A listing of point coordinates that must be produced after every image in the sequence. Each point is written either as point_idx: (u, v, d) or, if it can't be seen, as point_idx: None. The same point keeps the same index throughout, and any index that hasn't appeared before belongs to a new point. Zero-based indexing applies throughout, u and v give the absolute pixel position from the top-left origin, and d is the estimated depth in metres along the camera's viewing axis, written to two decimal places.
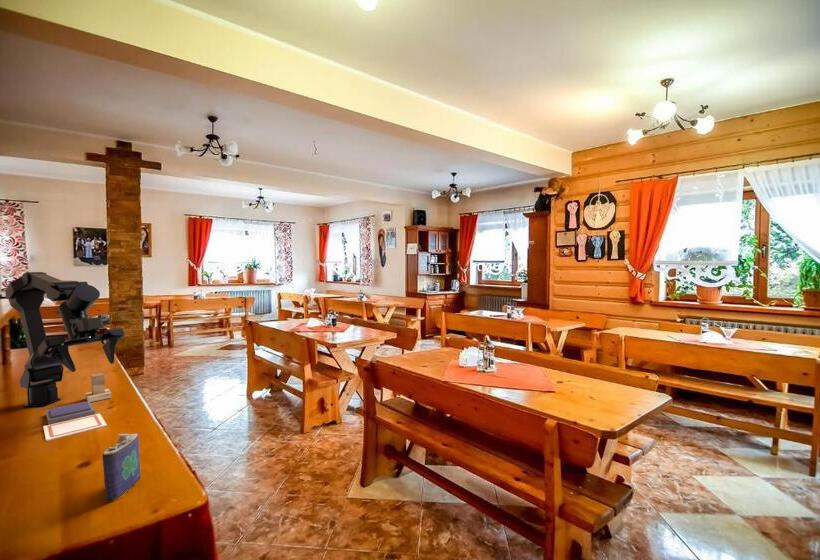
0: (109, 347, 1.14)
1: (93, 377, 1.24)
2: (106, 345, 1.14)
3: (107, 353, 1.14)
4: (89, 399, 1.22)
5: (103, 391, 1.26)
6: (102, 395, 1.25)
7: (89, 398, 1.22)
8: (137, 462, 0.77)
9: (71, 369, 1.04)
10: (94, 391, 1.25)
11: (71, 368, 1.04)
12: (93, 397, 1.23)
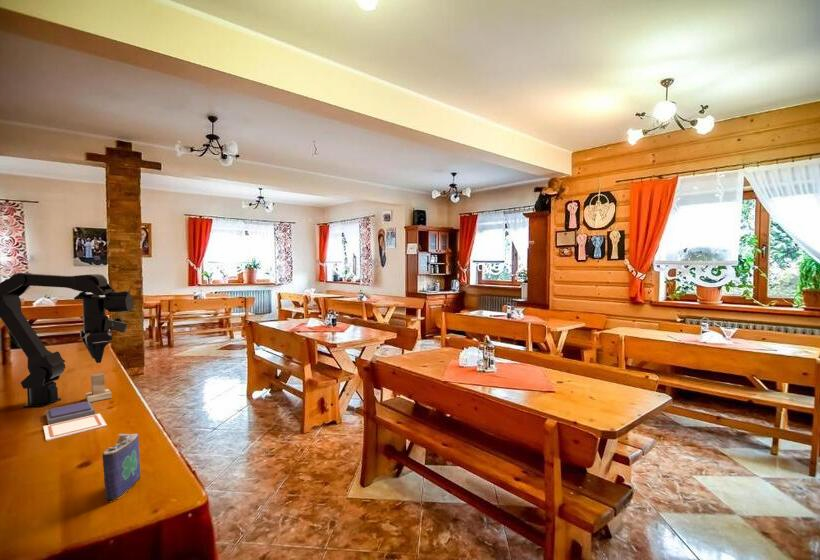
0: None
1: (93, 377, 1.24)
2: None
3: None
4: (89, 399, 1.22)
5: (103, 391, 1.26)
6: (102, 395, 1.25)
7: (89, 398, 1.22)
8: (137, 462, 0.77)
9: (98, 360, 1.22)
10: (94, 391, 1.25)
11: (99, 360, 1.22)
12: (93, 397, 1.23)
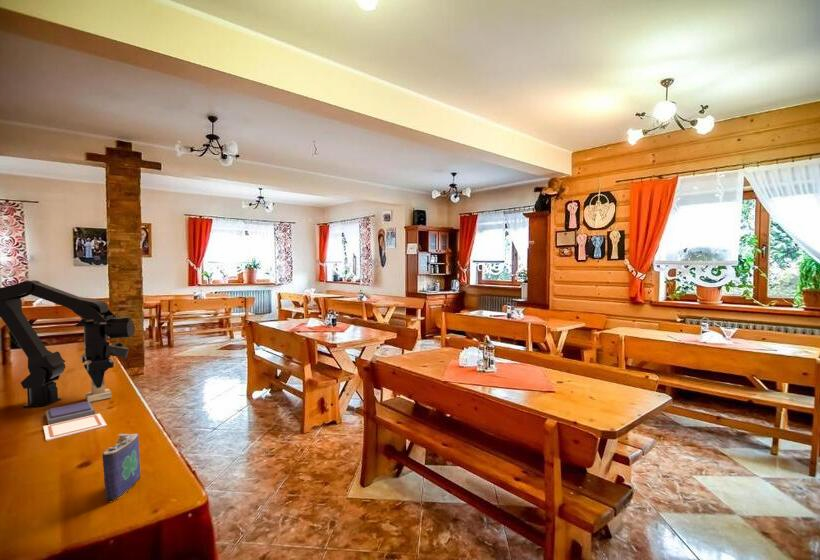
0: None
1: None
2: None
3: None
4: (89, 399, 1.22)
5: (103, 391, 1.26)
6: (102, 395, 1.25)
7: (89, 398, 1.22)
8: (137, 462, 0.77)
9: (98, 385, 1.25)
10: (94, 391, 1.25)
11: (99, 385, 1.25)
12: (93, 397, 1.23)
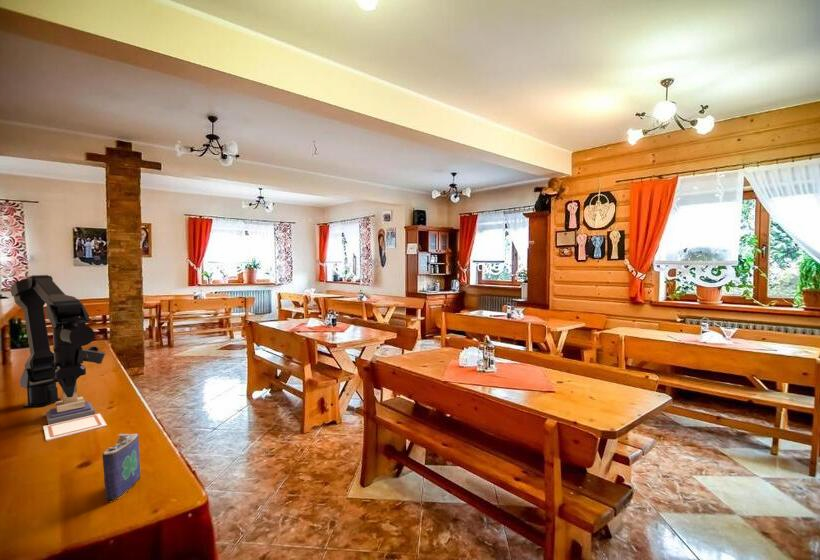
0: None
1: None
2: None
3: None
4: (59, 409, 1.09)
5: (75, 399, 1.13)
6: (74, 404, 1.11)
7: (59, 408, 1.09)
8: (137, 462, 0.77)
9: (69, 394, 1.11)
10: (65, 400, 1.11)
11: (71, 394, 1.11)
12: (63, 407, 1.10)
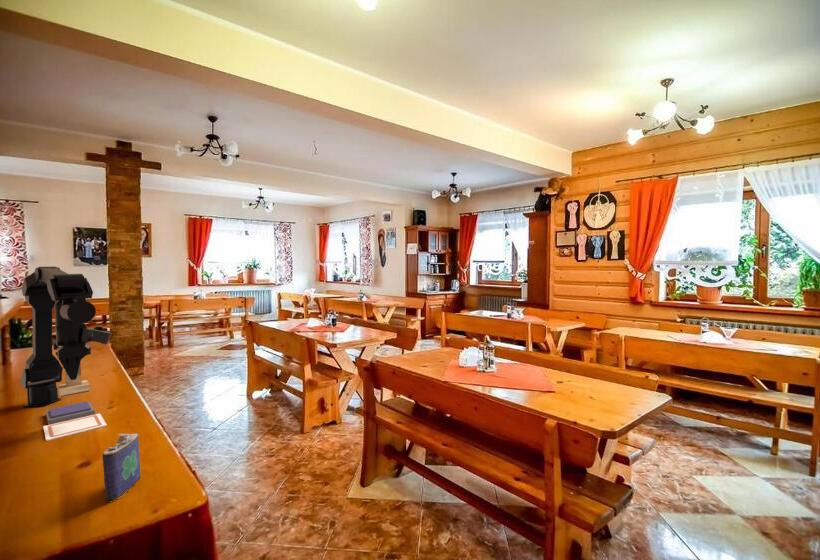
0: None
1: None
2: None
3: None
4: (61, 392, 1.00)
5: (79, 382, 1.04)
6: (78, 387, 1.02)
7: (61, 391, 1.00)
8: (137, 462, 0.77)
9: (73, 377, 1.02)
10: (68, 382, 1.02)
11: (74, 376, 1.02)
12: (67, 390, 1.01)
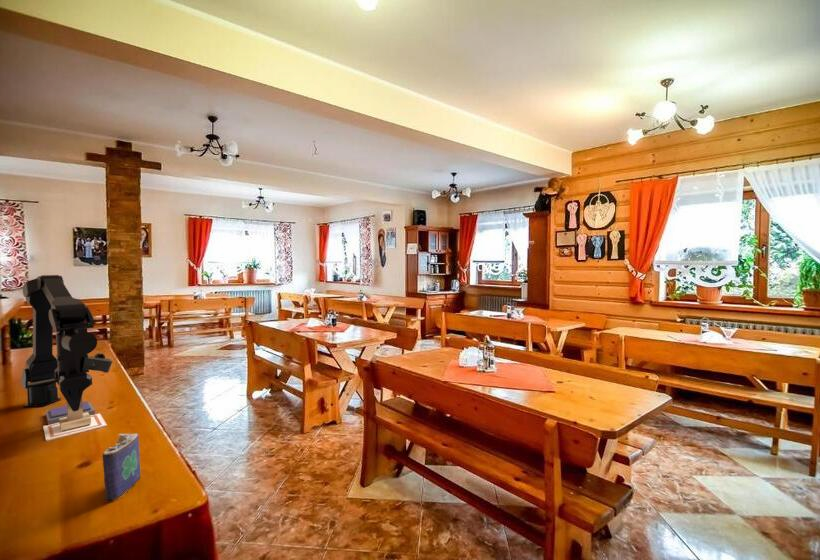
0: None
1: None
2: None
3: None
4: (63, 427, 1.00)
5: (81, 416, 1.04)
6: (79, 421, 1.03)
7: (63, 425, 1.00)
8: (137, 462, 0.77)
9: (75, 408, 1.01)
10: (69, 416, 1.02)
11: (76, 407, 1.01)
12: (68, 424, 1.01)
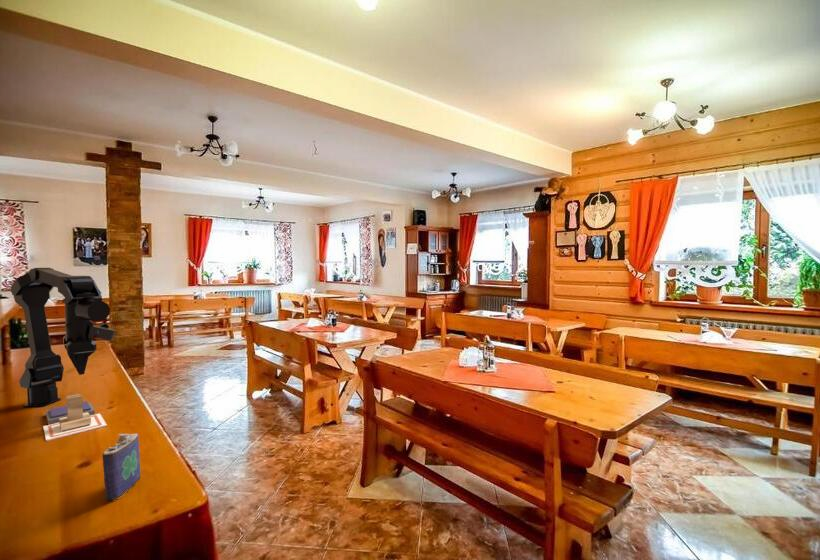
0: None
1: (68, 399, 1.02)
2: None
3: None
4: (63, 427, 1.00)
5: (81, 416, 1.04)
6: (79, 421, 1.03)
7: (63, 425, 1.00)
8: (137, 462, 0.77)
9: (81, 372, 1.10)
10: (69, 416, 1.02)
11: (82, 371, 1.10)
12: (68, 424, 1.01)
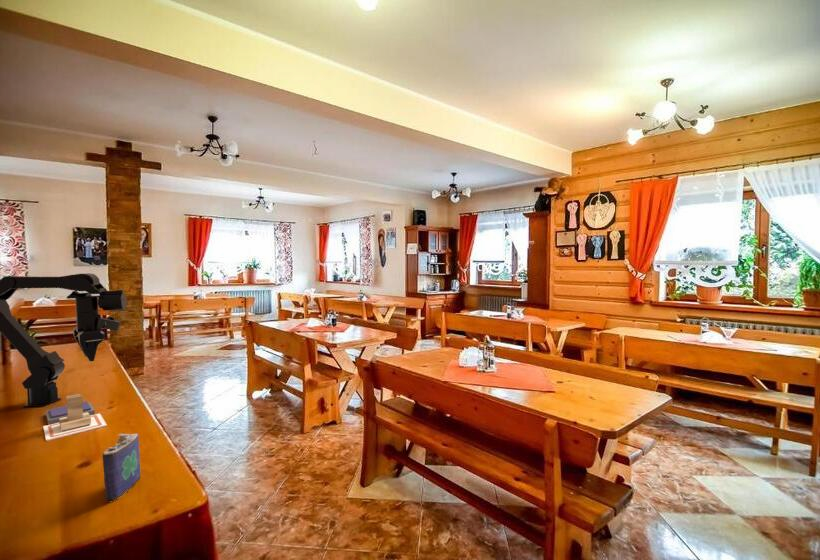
0: None
1: (68, 399, 1.02)
2: None
3: None
4: (63, 427, 1.00)
5: (81, 416, 1.04)
6: (79, 421, 1.03)
7: (63, 425, 1.00)
8: (137, 462, 0.77)
9: (91, 359, 1.23)
10: (69, 416, 1.02)
11: (92, 358, 1.23)
12: (68, 424, 1.01)
